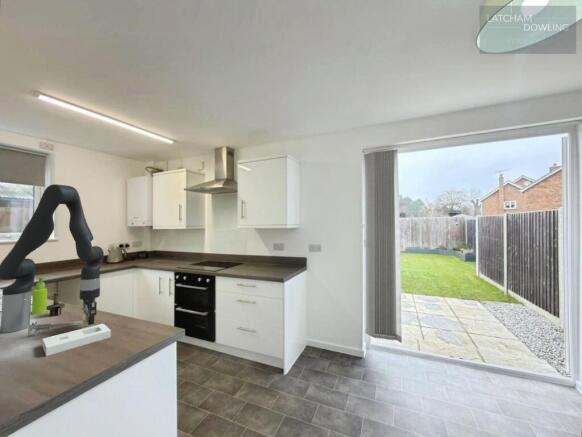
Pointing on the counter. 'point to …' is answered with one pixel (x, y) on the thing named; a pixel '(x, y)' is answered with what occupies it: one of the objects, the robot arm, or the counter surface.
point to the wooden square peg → (86, 320)
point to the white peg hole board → (75, 339)
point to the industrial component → (55, 306)
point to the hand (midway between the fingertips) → (88, 321)
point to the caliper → (49, 326)
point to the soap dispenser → (40, 297)
